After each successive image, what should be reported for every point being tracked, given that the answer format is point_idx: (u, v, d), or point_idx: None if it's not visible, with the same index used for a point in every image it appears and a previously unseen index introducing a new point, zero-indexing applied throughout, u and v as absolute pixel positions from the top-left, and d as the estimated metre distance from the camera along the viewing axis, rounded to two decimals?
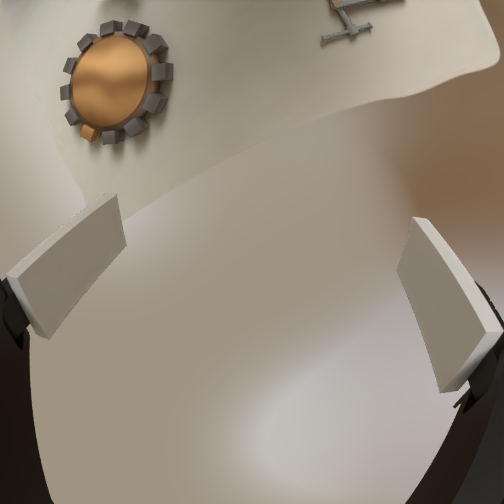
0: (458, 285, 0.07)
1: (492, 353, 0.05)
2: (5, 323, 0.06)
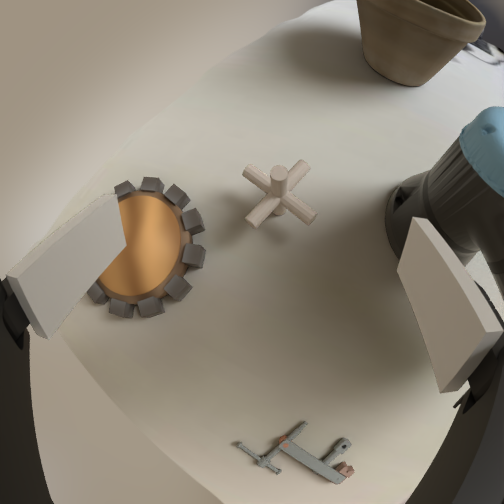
0: (458, 285, 0.07)
1: (492, 353, 0.05)
2: (5, 323, 0.06)
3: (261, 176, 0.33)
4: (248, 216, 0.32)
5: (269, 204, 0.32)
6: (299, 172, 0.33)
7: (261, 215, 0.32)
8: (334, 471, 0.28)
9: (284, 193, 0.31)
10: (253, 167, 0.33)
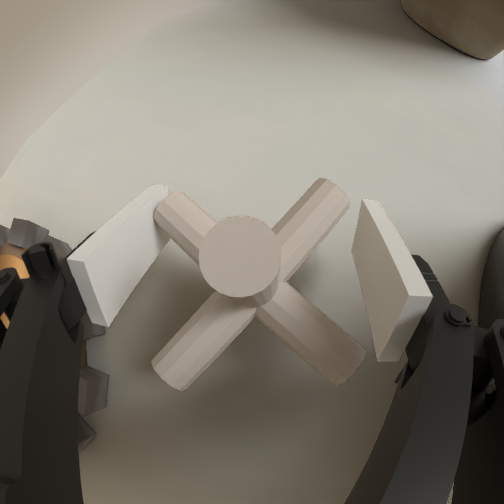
0: (389, 254, 0.08)
1: (424, 320, 0.06)
2: (60, 312, 0.07)
3: (201, 232, 0.11)
4: (159, 361, 0.10)
5: (218, 329, 0.10)
6: (319, 220, 0.11)
7: (195, 362, 0.10)
8: None
9: (268, 300, 0.09)
10: (182, 202, 0.11)
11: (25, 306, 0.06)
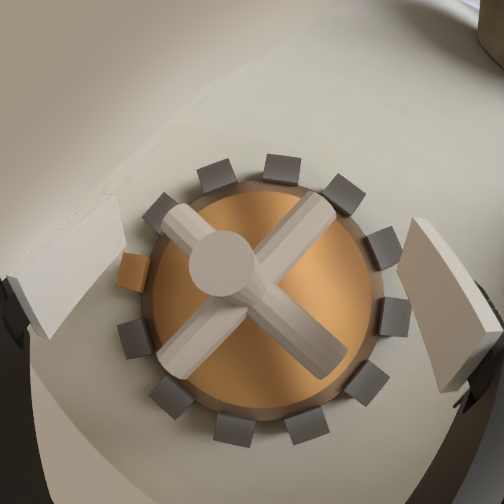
0: (458, 285, 0.07)
1: (492, 352, 0.05)
2: (5, 323, 0.06)
3: None
4: (162, 352, 0.11)
5: (214, 326, 0.11)
6: (305, 230, 0.12)
7: (194, 354, 0.11)
8: None
9: (256, 300, 0.11)
10: (185, 213, 0.13)
11: None
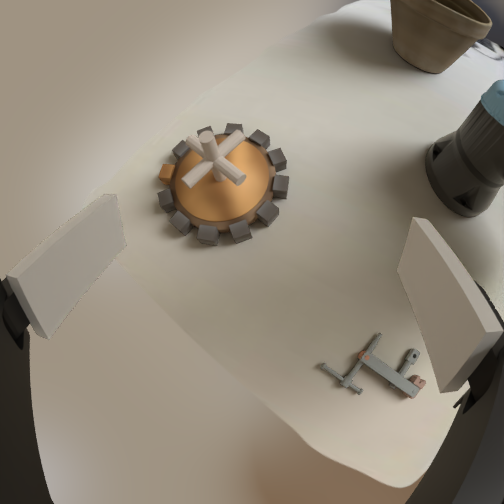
0: (458, 285, 0.07)
1: (492, 353, 0.05)
2: (5, 323, 0.06)
3: (199, 144, 0.36)
4: (183, 177, 0.35)
5: (202, 166, 0.35)
6: (233, 140, 0.35)
7: (194, 176, 0.35)
8: (410, 382, 0.32)
9: (215, 157, 0.34)
10: (194, 137, 0.36)
11: None
